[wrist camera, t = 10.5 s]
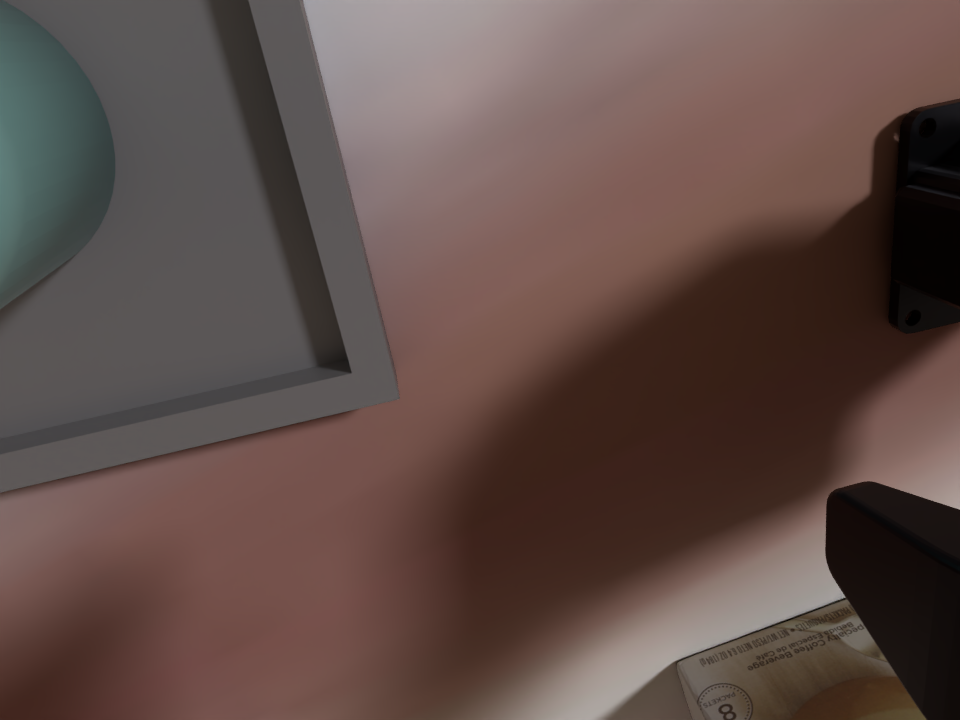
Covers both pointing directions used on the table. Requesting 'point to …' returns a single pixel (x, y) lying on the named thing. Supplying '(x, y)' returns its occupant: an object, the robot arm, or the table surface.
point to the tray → (195, 249)
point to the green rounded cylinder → (47, 155)
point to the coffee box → (798, 674)
